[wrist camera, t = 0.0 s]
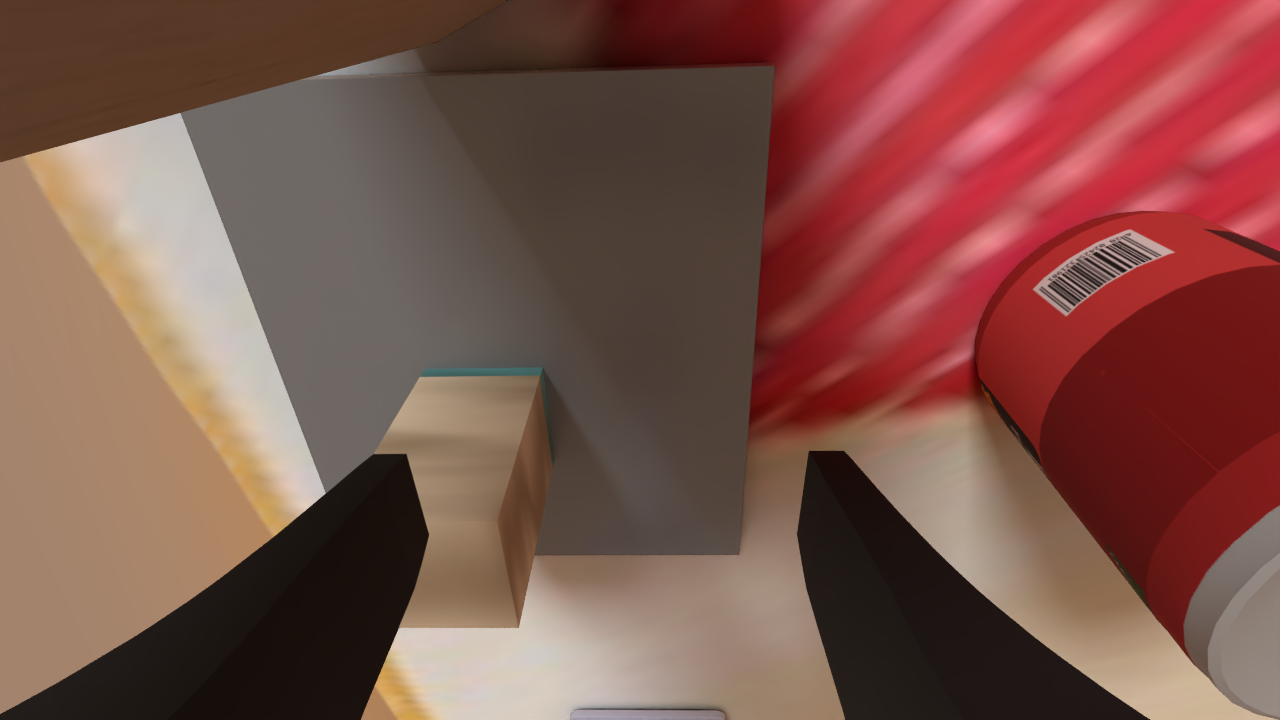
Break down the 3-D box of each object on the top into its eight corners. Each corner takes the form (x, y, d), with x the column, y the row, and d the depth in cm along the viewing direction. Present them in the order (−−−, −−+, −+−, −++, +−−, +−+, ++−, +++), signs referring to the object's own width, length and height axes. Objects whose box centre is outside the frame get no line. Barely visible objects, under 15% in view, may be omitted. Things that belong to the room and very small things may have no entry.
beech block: (554, 460, 23) (518, 627, 17) (446, 461, 23) (373, 627, 17) (542, 367, 21) (497, 521, 15) (424, 369, 21) (332, 521, 15)
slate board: (737, 539, 26) (739, 554, 25) (357, 540, 27) (349, 555, 26) (770, 62, 17) (775, 65, 16) (188, 79, 17) (169, 83, 17)
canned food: (930, 404, 22) (1127, 709, 13) (1034, 182, 18) (1431, 393, 9) (1133, 432, 23) (1466, 747, 13) (1279, 221, 19) (1906, 463, 9)
